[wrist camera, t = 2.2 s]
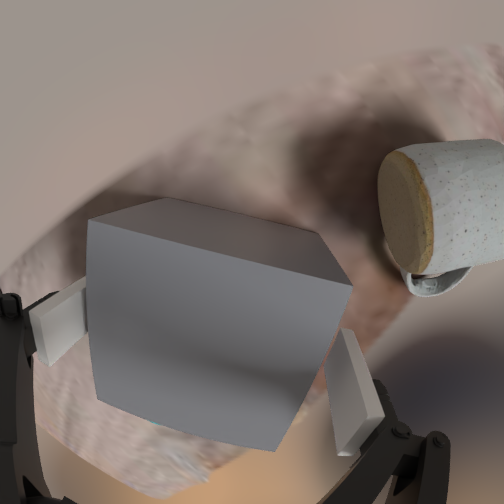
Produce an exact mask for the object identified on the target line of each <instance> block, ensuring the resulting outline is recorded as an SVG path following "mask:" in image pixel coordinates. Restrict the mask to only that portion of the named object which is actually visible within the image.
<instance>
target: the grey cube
mask: <svg viewBox="0 0 504 504" xmlns="http://www.w3.org/2000/svg"><path fill="white" fill-rule="evenodd" d="M352 289H353V285H352V283H351V282H350V280H349V279H348V277H347V275H346V274H345V272H344V271H343V269H342V268H341V266H340V265H339V263H338V262H337V260H336V259H335V257H334V256H333V254H332V253H331V251H330V250H329V248H328V247H327V245H326V244H325V242H324V241H323V239H322V238H321V237H320V235H319V234H317V233H314V232H310V231H306V230H302V229H298V228H294V227H291V226H287V225H283V224H279V223H275V222H271V221H267V220H263V219H259V218H255V217H251V216H246V215H242V214H238V213H234V212H230V211H225V210H221V209H217V208H213V207H208V206H204V205H199V204H195V203H191V202H186V201H181V200H177V199H172V198H168V197H167V198H163V199H159V200H155V201H151V202H147V203H143V204H140V205H136V206H132V207H129V208H125V209H122V210H118V211H115V212H111V213H108V214H104V215H101V216H98V217H94V218H91V219H88V228H87V247H86V303H87V322H88V335H89V345H90V354H91V362H92V370H93V376H94V383H95V389H96V394H97V399H98V400H100V401H103V402H105V403H107V404H109V405H111V406H114V407H116V408H118V409H121V410H123V411H125V412H128V413H130V414H133V415H135V416H138V417H140V418H143V419H146V420H149V421H151V422H154V423H157V424H160V425H163V426H166V427H169V428H172V429H175V430H178V431H182V432H185V433H188V434H192V435H195V436H199V437H203V438H207V439H211V440H215V441H219V442H223V443H228V444H232V445H237V446H242V447H248V448H253V449H260V450H266V451H272V452H275V451H276V449H277V447H278V445H279V444H280V442H281V441H282V439H283V437H284V435H285V434H286V432H287V430H288V428H289V427H290V425H291V423H292V421H293V419H294V417H295V416H296V414H297V412H298V410H299V408H300V406H301V404H302V402H303V400H304V398H305V397H306V395H307V393H308V391H309V389H310V387H311V385H312V383H313V380H314V378H315V376H316V374H317V372H318V370H319V368H320V366H321V364H322V361H323V359H324V357H325V355H326V353H327V350H328V348H329V346H330V344H331V341H332V339H333V337H334V334H335V332H336V330H337V327H338V325H339V322H340V320H341V317H342V315H343V312H344V310H345V307H346V305H347V302H348V300H349V297H350V294H351V292H352Z"/></svg>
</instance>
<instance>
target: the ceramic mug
mask: <svg viewBox="0 0 504 504" xmlns="http://www.w3.org/2000/svg"><path fill="white" fill-rule="evenodd" d="M377 188H378V203H379V210H380V217H381V222H382V227H383V230H384V234H385V237H386V240H387V243H388V246H389V249H390V251H391V253H392V255H393V257H394V259H395V260H396V262H397V263H398V264H399V265H400V270H401V275H402V277H403V280H404V282H405V284H406V286H407V288H408V289H409V291H410V292H411V293H413V294H414V295H416V296H419V297H431V296H437V295H440V294H442V293H445V292H447V291H449V290H450V289H452V288H453V287H455V286H456V285H457V284H459V283H460V282H461V281H462V280H463V279H464V278H465V277H466V276H467V274H468V273H469V271H470V270H471V269H472V268H473V266H475V265H481V264H485V263H490V262H494V261H499V260H503V259H504V145H503V144H501V143H500V142H497V141H495V140H492V139H477V140H459V141H447V142H436V143H423V144H412V145H409V146H406V147H402V148H399V149H396V150H394V151H392V152H390V153H389V154H387V155H386V157H385V159H384V160H383V162H382V164H381V166H380V169H379V174H378V183H377ZM444 272H446V273H444ZM411 273H412V274H439V273H444V274H442V275H440V276H438V277H434V278H427V279H415V280H414V279H412V278H411Z"/></svg>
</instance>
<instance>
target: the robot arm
mask: <svg viewBox="0 0 504 504" xmlns="http://www.w3.org/2000/svg"><path fill="white" fill-rule="evenodd" d="M87 332H88V322H87V303H86V276H84V277H83V278H81V279H79V280H78V281H76V282H74V283H73V284H71V285H69V286H68V287H66V288H64V289H63V290H61V291H56V292H52V293H49V294H48V295H46V296H44V297H43V298H41V299H39V300H38V301H36V302H35V303H33V304H32V305H30V306H28V307H27V308H25V309H24V310H23V309H22V303H21V297H20V296H19V295H17V294H15V293H6V294H3V295H2V293H1V291H0V504H77V503H75V502H74V501H72V500H70V499H69V498H67V497H65V496H64V498H63V500H60V499H56V498H52V497H51V494H50V492H49V489H48V487H47V485H46V483H45V480H44V477H43V472H42V467H41V462H40V456H39V450H38V443H37V435H36V425H35V414H34V395H33V356H32V354H33V353H34V352H35V351H37V354H38V358H39V360H40V361H41V362H43V363H44V364H46V365H47V366H49V367H50V366H52V365H53V364H54V363H55V362H56V361H57V360H58V359H59V358H60V357H61V356H62V355H63V354H64V353H65V352H66V351H67V350H69V349H70V348H71V347H72V346H73V345H74V344H75V343H76V342H77V341H78V340H79V339H81V338H82V337H83V336H84V335H85V334H86V333H87ZM324 371H325V377H326V383H327V389H328V395H329V401H330V407H331V414H332V421H333V427H334V435H335V442H336V448H337V455H340V456H353V455H354V454H355V453H356V452H357V451H358V450H359V449H360V452H361V456H360V457H359V458H358V459H357V460H356V462H355V463H354V464H353V465H352V466H351V467H350V469H349V470H348V471H347V473H346V474H345V475H344V476H343V477H342V478H341V479H340V480H339V481H338V483H337V484H336V485H335V486H334V487H333V488H332V489H331V490H330V491H329V492H328V493H327V494H326V495H325V496H324V497H323V498H322V499H321V500H320V501H319V502H318V503H317V504H372V503H373V501H374V500H375V499H376V497H377V496H378V494H379V493H380V492H381V490H382V489H383V487H384V485H385V484H386V482H387V481H388V479H389V478H390V476H391V475H393V479H392V483H391V486H390V490H389V493H388V496H387V499H386V503H385V504H446V500H447V493H448V482H449V471H450V440H449V439H448V437H447V436H446V435H445V434H444V433H442V432H439V431H432V432H430V433H429V434H428V435H427V436H426V438H425V437H421V436H417V435H413V434H412V431H411V429H410V428H409V426H407V425H406V424H405V423H403V422H400V421H398V418H397V416H396V413H395V410H394V408H393V405H392V403H391V402H390V397H389V396H388V392H387V390H386V388H385V386H384V385H383V384H382V383H381V381H380V380H376V379H372V378H371V375H370V373H369V370H368V367H367V365H366V362H365V359H364V357H363V354H362V352H361V349H360V347H359V344H358V342H357V339H356V337H355V334H354V332H353V330H350V329H345V328H340V330H339V332H338V335H337V337H336V339H335V342H334V344H333V346H332V348H331V351H330V353H329V355H328V357H327V359H326V362H325V364H324Z"/></svg>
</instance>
